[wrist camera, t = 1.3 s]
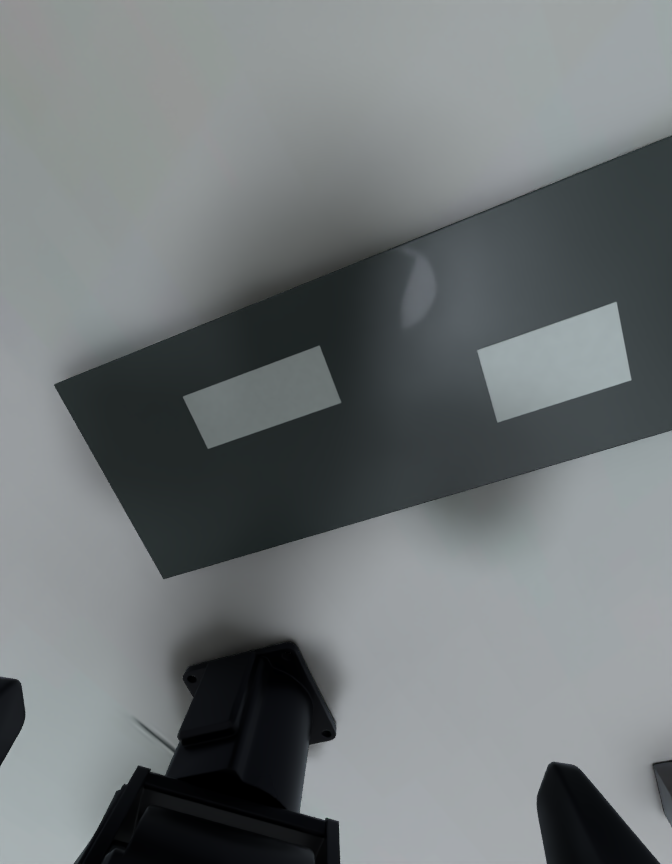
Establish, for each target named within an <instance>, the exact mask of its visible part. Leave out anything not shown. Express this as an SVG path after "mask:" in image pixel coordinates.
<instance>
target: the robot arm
mask: <svg viewBox="0 0 672 864" xmlns="http://www.w3.org/2000/svg"><path fill="white" fill-rule="evenodd" d="M286 652H289V653H291V654H288V653H286ZM194 676H195V677H194ZM183 680H184V683H185V684H186V686H187V688H188V689H189V691H190V693H191V694H192V696H193V700H192V702H191V704H190V707H189V709H188V711H187V714H186V716H185V718H184V721H183V723H182V725H181V728H180V730H179V732H178V735H177V738H178V739H179V743H178V746H177V748H176V751H175V753H174V755H173V758H172V760H171V763H170V765H169V767H168V770H167V772H166V774H165V776H164V775H160V774H157V773H153V772H151V769H149V768H145V767H142V766H138V767H137V769H136V770H135V772H134V774H133V776H132V777H131V779H130V781H129V783H128V784H124V785H123V786H122V788H121V790H118V791H116V793H115V795H114V797H113V799H112V801H111V803H110V805H109V807H108V809H107V811H106V813H105V815H104V817H103V819H102V821H101V823H100V825H99V827H98V829H97V831H96V832H95V834H94V836H93V837H92V839H91V840H90V842H89V843H88V845H87V846H86V847H85V849H84V850H83V852H82V853H81V854H80V856H79V857H78V858H77V860H76V861H75V863H74V864H340V845H339V821H336V820H332V819H329V818H326V819H325V820H322V819H318V818H315V817H311V816H308V815H304V814H300V805H301V798H302V791H303V784H304V776H305V769H306V762H307V755H308V748H309V745H310V744H315V743H320V742H325V741H330V740H332V739H334V738H335V736H336V724H335V722H334V720H333V718H332V716H331V714H330V712H329V710H328V708H327V706H326V704H325V702H324V700H323V698H322V696H321V694H320V692H319V690H318V688H317V686H316V684H315V682H314V680H313V677H312V675H311V673H310V671H309V669H308V667H307V665H306V663H305V661H304V659H303V657H302V655H301V653H300V651H299V649H298V647H297V646H296V645H295V644H293V643H291V642H285V643H281V644H277V645H273V646H269V647H265V648H261V649H257V650H253V651H249V652H245V653H241V654H237V655H233V656H229V657H225V658H221V659H217V660H213V661H209V662H205V663H201V664H197V665H193V666H190V667H188V668H187V669H186V671H185V673H184V675H183ZM24 720H25V706H24V699H23V692H22V686H21V683H20V681H19V680H17V679H12V678H6V677H0V766H1V764H2V762H3V760H4V759H5V757H6V755H7V753H8V752H9V750H10V748H11V746H12V745H13V743H14V741H15V740H16V738H17V736H18V734H19V733H20V731H21V729H22V726H23V724H24ZM537 813H538V818H539V824H540V829H541V834H542V840H543V845H544V850H545V856H546V861H547V864H660V863H659V862H658V861H657V859H656V858H655V857H654V856H653V855H652V853H651V852H650V851H649V850H648V849H647V848H646V846H645V845H644V844H643V843H642V842H641V840H640V839H639V838H638V837H637V836H636V835H635V833H634V832H633V831H632V830H631V829H630V827H629V826H628V825H627V824H626V823H625V822H624V820H623V819H622V818H621V817H620V816H619V814H618V813H617V812H616V811H615V810H614V808H613V807H612V806H611V805H610V804H609V803H608V801H607V800H606V799H605V798H604V797H603V795H602V794H601V793H600V792H599V791H598V790H597V788H596V787H595V786H594V785H593V784H592V782H591V781H590V780H589V779H588V778H587V777H586V775H585V774H584V773H583V772H582V771H581V770H580V769H579V768H578V767H576V766H575V765H572V764H565V763H559V762H552V763H550V764H549V765H548V767H547V770H546V772H545V775H544V778H543V780H542V783H541V786H540V789H539V791H538V795H537Z"/></svg>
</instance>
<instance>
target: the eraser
mask: <svg viewBox="0 0 672 864" xmlns="http://www.w3.org/2000/svg"><path fill="white" fill-rule="evenodd" d="M654 770H655V774H656V778H657V783H658V787H659V791H660V795H661V800H662V804H663V808H664V812H665V816H666V817H667V819H668V821H669V823H670V825H671V827H672V762H666V763H660V764H655V765H654Z"/></svg>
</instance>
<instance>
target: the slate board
mask: <svg viewBox="0 0 672 864" xmlns="http://www.w3.org/2000/svg"><path fill="white" fill-rule="evenodd" d="M54 386H55V388H56V390H57V391H58V393H59V395H60V397H61V398H62V400H63V402H64V404H65V406H66V407H67V409H68V411H69V413H70V414H71V416H72V418H73V420H74V421H75V423H76V425H77V427H78V429H79V430H80V432H81V434H82V436H83V437H84V439H85V441H86V443H87V444H88V446H89V448H90V450H91V452H92V453H93V455H94V457H95V459H96V460H97V462H98V464H99V466H100V467H101V469H102V471H103V473H104V475H105V476H106V478H107V480H108V482H109V483H110V485H111V487H112V489H113V491H114V492H115V494H116V496H117V498H118V499H119V501H120V503H121V505H122V506H123V508H124V510H125V512H126V514H127V515H128V517H129V519H130V521H131V522H132V524H133V526H134V528H135V529H136V531H137V533H138V535H139V537H140V538H141V540H142V542H143V544H144V545H145V547H146V549H147V551H148V552H149V554H150V556H151V558H152V560H153V561H154V563H155V565H156V567H157V568H158V570H159V572H160V574H161V575H162V577H163V579H166V578H170V577H173V576H176V575H180V574H183V573H187V572H190V571H193V570H197V569H200V568H204V567H207V566H210V565H214V564H217V563H221V562H224V561H228V560H231V559H234V558H238V557H241V556H245V555H248V554H251V553H255V552H258V551H262V550H265V549H268V548H272V547H275V546H279V545H282V544H286V543H289V542H292V541H296V540H299V539H303V538H306V537H309V536H313V535H316V534H320V533H323V532H326V531H330V530H333V529H337V528H340V527H343V526H347V525H350V524H354V523H357V522H361V521H364V520H367V519H371V518H374V517H378V516H381V515H384V514H388V513H391V512H395V511H398V510H401V509H405V508H408V507H412V506H415V505H419V504H422V503H425V502H429V501H432V500H436V499H439V498H442V497H446V496H449V495H453V494H456V493H459V492H463V491H466V490H470V489H473V488H477V487H480V486H483V485H487V484H490V483H494V482H497V481H500V480H504V479H507V478H511V477H514V476H517V475H521V474H524V473H528V472H531V471H535V470H538V469H541V468H545V467H548V466H552V465H555V464H558V463H562V462H565V461H569V460H572V459H575V458H579V457H582V456H586V455H589V454H593V453H596V452H599V451H603V450H606V449H610V448H613V447H616V446H620V445H623V444H627V443H630V442H633V441H637V440H640V439H644V438H647V437H651V436H654V435H657V434H661V433H664V432H668V431H671V430H672V136H670V137H667V138H665V139H662V140H660V141H657V142H655V143H652V144H650V145H647V146H645V147H642V148H640V149H637V150H635V151H632V152H630V153H627V154H625V155H622V156H620V157H617V158H615V159H612V160H610V161H607V162H605V163H603V164H600V165H598V166H595V167H593V168H590V169H588V170H585V171H583V172H580V173H578V174H575V175H573V176H570V177H568V178H565V179H563V180H560V181H558V182H555V183H553V184H550V185H548V186H545V187H543V188H540V189H538V190H536V191H533V192H531V193H528V194H526V195H523V196H521V197H518V198H516V199H513V200H511V201H508V202H506V203H503V204H501V205H498V206H496V207H493V208H491V209H488V210H486V211H483V212H481V213H478V214H476V215H473V216H471V217H469V218H466V219H464V220H461V221H459V222H456V223H454V224H451V225H449V226H446V227H444V228H441V229H439V230H436V231H434V232H431V233H429V234H426V235H424V236H421V237H419V238H416V239H414V240H411V241H409V242H406V243H404V244H402V245H399V246H397V247H394V248H392V249H389V250H387V251H384V252H382V253H379V254H377V255H374V256H372V257H369V258H367V259H364V260H362V261H359V262H357V263H354V264H352V265H349V266H347V267H344V268H342V269H339V270H337V271H335V272H332V273H330V274H327V275H325V276H322V277H320V278H317V279H315V280H312V281H310V282H307V283H305V284H302V285H300V286H297V287H295V288H292V289H290V290H287V291H285V292H282V293H280V294H277V295H275V296H272V297H270V298H267V299H265V300H263V301H260V302H258V303H255V304H253V305H250V306H248V307H245V308H243V309H240V310H238V311H235V312H233V313H230V314H228V315H225V316H223V317H220V318H218V319H215V320H213V321H210V322H208V323H205V324H203V325H200V326H198V327H196V328H193V329H191V330H188V331H186V332H183V333H181V334H178V335H176V336H173V337H171V338H168V339H166V340H163V341H161V342H158V343H156V344H153V345H151V346H148V347H146V348H143V349H141V350H138V351H136V352H133V353H131V354H129V355H126V356H124V357H121V358H119V359H116V360H114V361H111V362H109V363H106V364H104V365H101V366H99V367H96V368H94V369H91V370H89V371H86V372H84V373H81V374H79V375H76V376H74V377H71V378H69V379H66V380H64V381H62V382H59V383H57V384H55V385H54Z"/></svg>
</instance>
